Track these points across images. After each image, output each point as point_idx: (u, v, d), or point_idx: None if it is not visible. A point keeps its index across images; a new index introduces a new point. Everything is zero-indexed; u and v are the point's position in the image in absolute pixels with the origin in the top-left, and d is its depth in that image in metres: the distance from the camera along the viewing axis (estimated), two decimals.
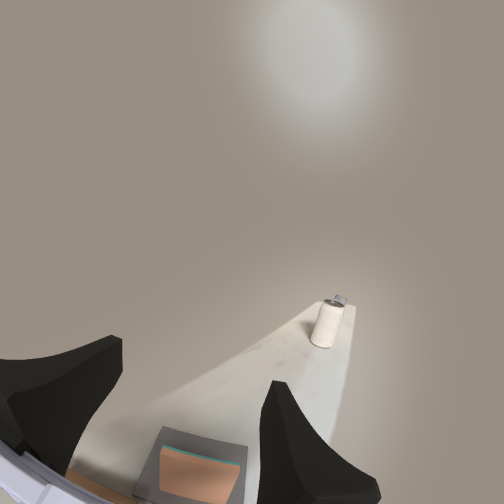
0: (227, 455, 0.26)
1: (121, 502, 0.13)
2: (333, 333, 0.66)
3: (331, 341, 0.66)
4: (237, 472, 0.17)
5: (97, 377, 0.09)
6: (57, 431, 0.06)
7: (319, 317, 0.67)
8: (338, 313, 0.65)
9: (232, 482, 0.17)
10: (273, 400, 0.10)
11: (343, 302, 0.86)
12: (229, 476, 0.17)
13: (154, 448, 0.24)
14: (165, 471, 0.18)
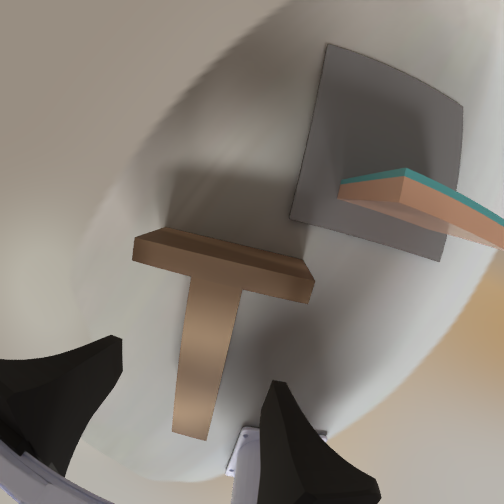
0: (439, 118, 0.14)
1: (285, 292, 0.13)
2: None
3: None
4: None
5: (96, 377, 0.09)
6: (57, 431, 0.06)
7: None
8: None
9: (481, 243, 0.10)
10: (273, 400, 0.10)
11: None
12: (490, 245, 0.09)
13: (320, 96, 0.14)
14: (378, 204, 0.11)
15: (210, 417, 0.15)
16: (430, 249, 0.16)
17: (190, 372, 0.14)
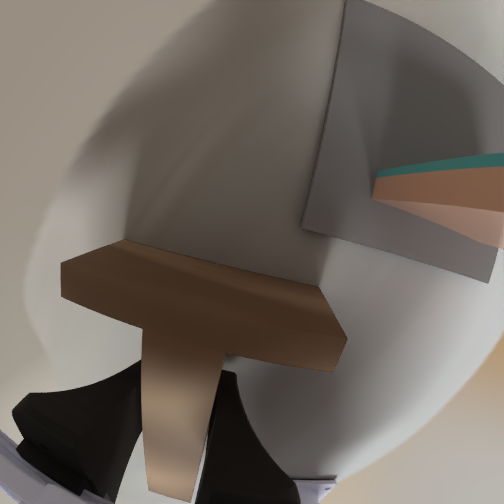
0: (487, 99, 0.08)
1: (298, 358, 0.07)
2: None
3: None
4: None
5: None
6: (113, 461, 0.06)
7: None
8: None
9: None
10: (217, 389, 0.10)
11: None
12: None
13: (343, 55, 0.09)
14: (459, 212, 0.05)
15: (192, 485, 0.09)
16: (480, 268, 0.10)
17: (159, 444, 0.08)
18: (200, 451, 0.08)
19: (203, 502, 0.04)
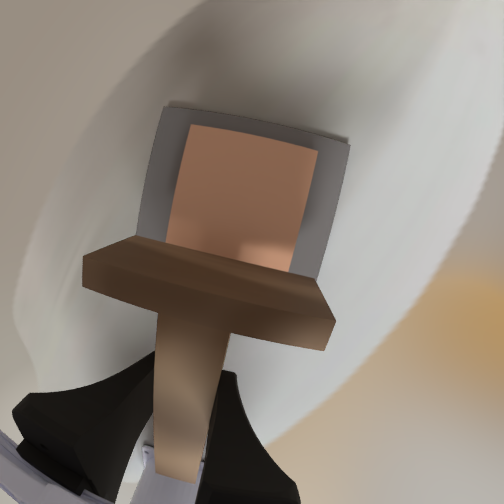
0: None
1: (293, 337, 0.08)
2: None
3: None
4: (314, 151, 0.13)
5: (145, 397, 0.09)
6: (113, 461, 0.06)
7: None
8: None
9: (305, 186, 0.14)
10: (217, 389, 0.10)
11: None
12: (301, 164, 0.14)
13: (149, 175, 0.15)
14: (188, 178, 0.14)
15: (197, 465, 0.11)
16: None
17: (169, 422, 0.10)
18: (206, 428, 0.10)
19: (203, 502, 0.04)
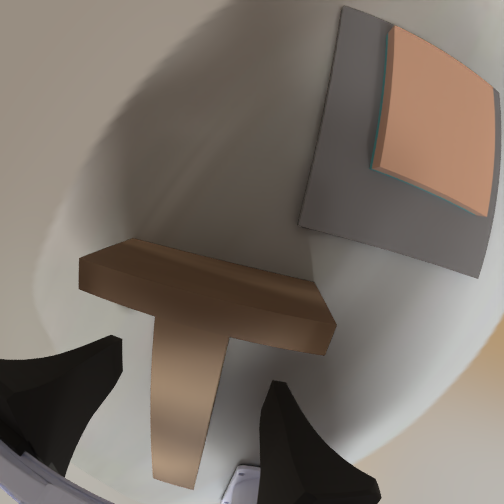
0: None
1: (293, 342, 0.08)
2: None
3: None
4: (490, 86, 0.08)
5: (97, 377, 0.09)
6: (57, 431, 0.06)
7: None
8: None
9: (492, 113, 0.08)
10: (273, 400, 0.10)
11: None
12: (486, 94, 0.08)
13: (338, 64, 0.10)
14: (404, 73, 0.09)
15: (195, 471, 0.10)
16: (469, 263, 0.11)
17: (166, 428, 0.10)
18: (204, 434, 0.09)
19: None
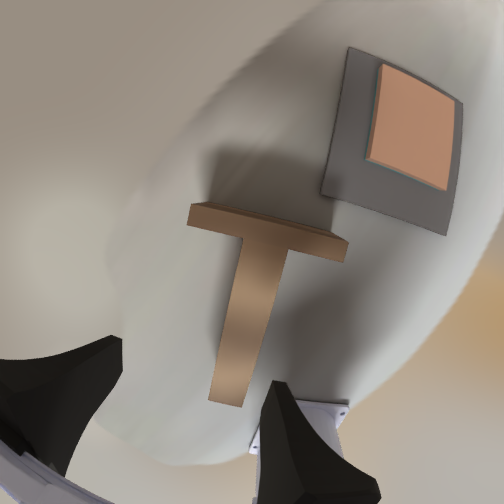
0: None
1: (325, 252, 0.15)
2: None
3: None
4: (452, 101, 0.14)
5: (96, 377, 0.09)
6: (57, 431, 0.06)
7: None
8: None
9: (451, 120, 0.15)
10: (273, 400, 0.10)
11: None
12: (448, 107, 0.15)
13: (344, 92, 0.16)
14: (387, 98, 0.15)
15: (249, 380, 0.17)
16: (437, 224, 0.18)
17: (235, 332, 0.16)
18: (263, 333, 0.16)
19: None
